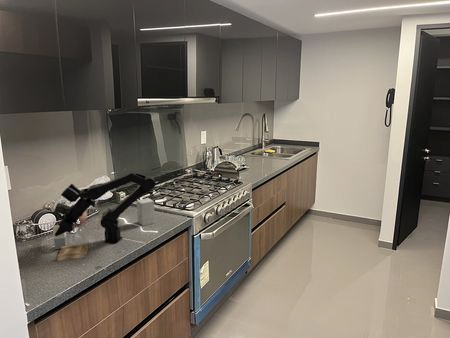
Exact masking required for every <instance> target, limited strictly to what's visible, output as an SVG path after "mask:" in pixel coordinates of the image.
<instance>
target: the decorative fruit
mask: <svg viewBox="0 0 450 338" xmlns="http://www.w3.org/2000/svg"><path fill="white" fill-rule="evenodd" d="M86 211H87V210H86ZM86 211H85V212H84V213H83V215H82V216H81V217H80V218H79V221H80V225H81V224H83V223H84V222H85V221H86V220H87V217H88V213H87V212H86Z"/></svg>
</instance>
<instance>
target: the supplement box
mask: <svg viewBox="0 0 450 338" xmlns="http://www.w3.org/2000/svg"><path fill="white" fill-rule="evenodd" d="M136 210H137V222H138V223H139V225H141V226H142V227H144V226H149V225H152V224H156V216H155V201H154V200H152V199H151V198H149V197H147V198H141V199H137V200H136Z"/></svg>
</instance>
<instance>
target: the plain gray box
mask: <svg viewBox="0 0 450 338" xmlns="http://www.w3.org/2000/svg"><path fill="white" fill-rule="evenodd" d="M59 227H60V226H59V225H58V224H54V225H53V227H52V236H53V242H54V248H55V250H61V247H63V246H68V236H67V232H65V233H63V234H61V235H58V236H55V233H56V232H57V230H58V228H59Z"/></svg>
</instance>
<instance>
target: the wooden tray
mask: <svg viewBox="0 0 450 338" xmlns="http://www.w3.org/2000/svg"><path fill="white" fill-rule="evenodd" d="M88 249H89V243H82V244H72V245H67V246H63V247H61V249H60V252H59V253H58V255H57V261H58V262H59V261H68V260H75V259H81V258H83V259H84V258H86V257H87V253H88Z"/></svg>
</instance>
